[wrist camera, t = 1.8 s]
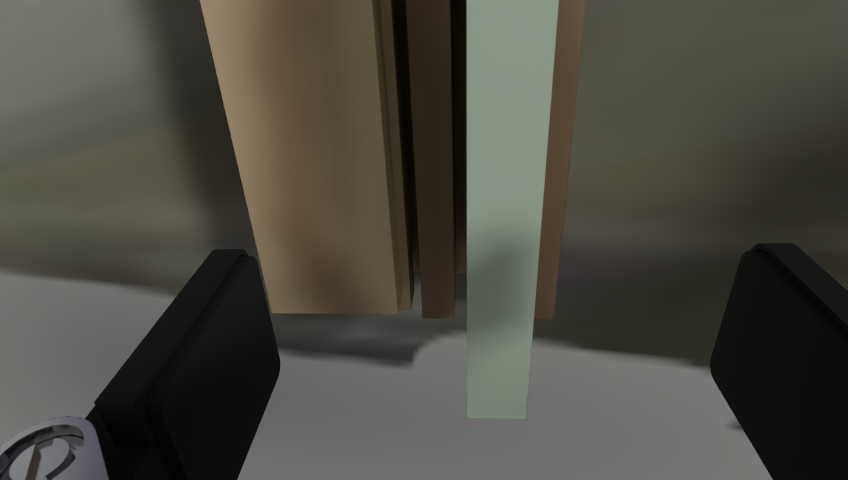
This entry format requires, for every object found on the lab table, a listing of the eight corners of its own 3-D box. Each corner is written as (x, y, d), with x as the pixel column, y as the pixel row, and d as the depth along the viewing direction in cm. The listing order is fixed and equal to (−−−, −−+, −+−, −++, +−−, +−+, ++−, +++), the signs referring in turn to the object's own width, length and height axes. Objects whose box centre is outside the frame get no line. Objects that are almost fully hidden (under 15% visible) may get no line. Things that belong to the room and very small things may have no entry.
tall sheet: (518, -115, 20) (572, -169, 10) (504, 243, 28) (525, 419, 18) (466, -112, 21) (466, -163, 10) (467, 242, 28) (467, 418, 18)
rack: (592, -179, 20) (641, -224, 14) (551, 262, 30) (570, 339, 24) (239, -156, 21) (155, -190, 16) (311, 262, 31) (276, 334, 26)
